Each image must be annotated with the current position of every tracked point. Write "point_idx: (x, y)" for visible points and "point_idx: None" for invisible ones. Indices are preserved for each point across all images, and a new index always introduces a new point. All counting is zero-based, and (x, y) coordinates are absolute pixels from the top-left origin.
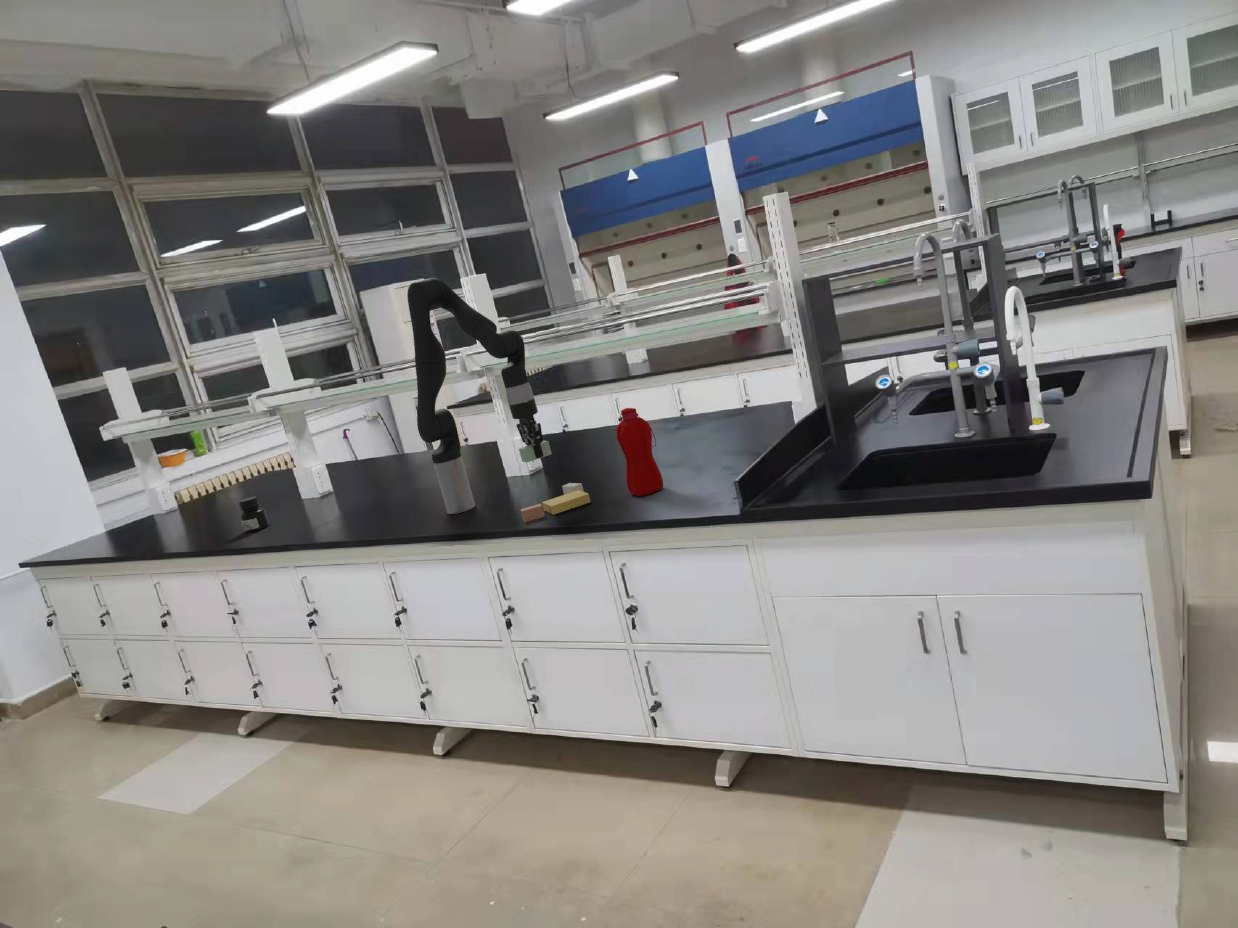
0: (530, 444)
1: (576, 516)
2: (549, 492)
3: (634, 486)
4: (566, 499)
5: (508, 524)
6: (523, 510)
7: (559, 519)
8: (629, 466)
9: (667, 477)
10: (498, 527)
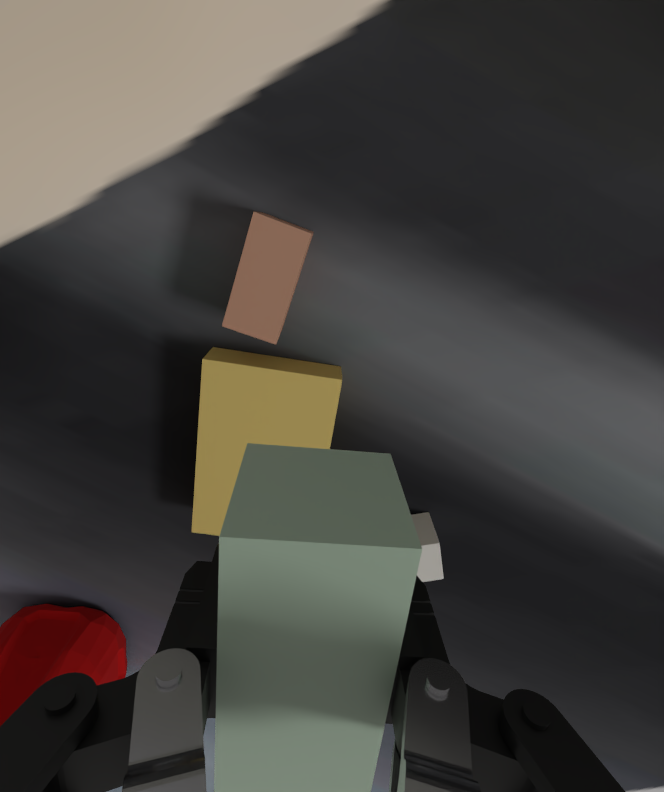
0: (398, 688)
1: (55, 377)
2: (580, 518)
3: (12, 632)
4: (228, 450)
5: (337, 146)
6: (259, 226)
7: (99, 319)
8: None
9: None
10: (355, 82)
